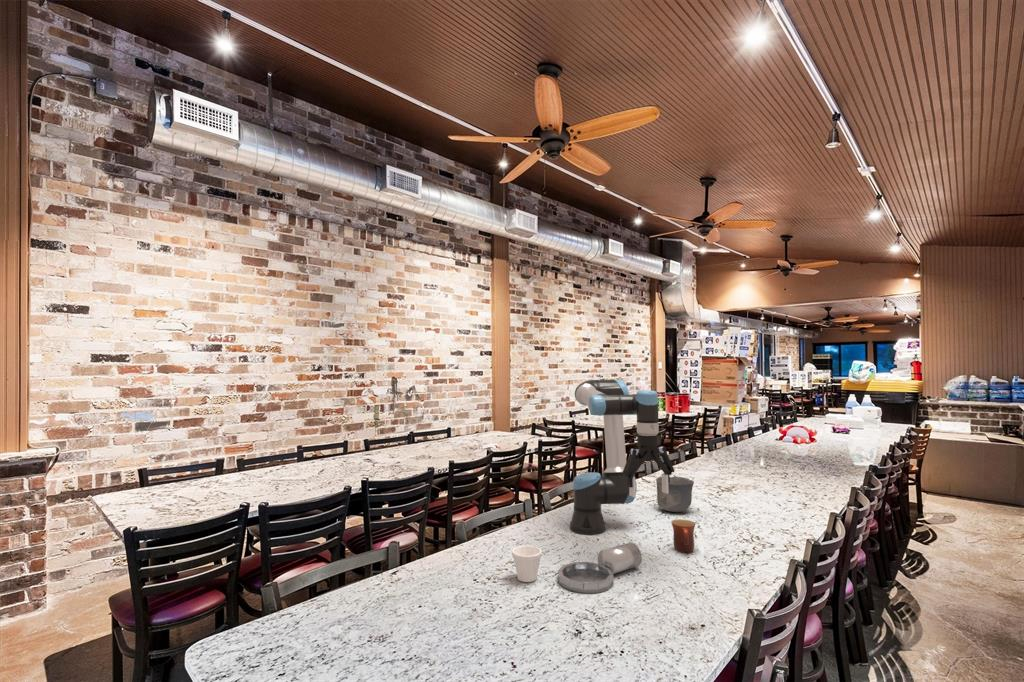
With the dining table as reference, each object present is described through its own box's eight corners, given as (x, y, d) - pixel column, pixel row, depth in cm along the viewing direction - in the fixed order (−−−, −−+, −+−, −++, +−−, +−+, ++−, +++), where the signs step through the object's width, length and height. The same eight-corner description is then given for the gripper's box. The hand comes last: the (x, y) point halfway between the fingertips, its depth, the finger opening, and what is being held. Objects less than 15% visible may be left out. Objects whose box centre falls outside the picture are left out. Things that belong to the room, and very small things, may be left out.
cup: (545, 575, 169) (545, 547, 169) (537, 587, 160) (537, 558, 160) (517, 571, 172) (517, 543, 173) (507, 583, 163) (507, 554, 163)
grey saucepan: (582, 599, 151) (582, 572, 152) (547, 578, 167) (546, 553, 167) (653, 575, 168) (652, 550, 168) (615, 557, 183) (614, 535, 184)
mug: (670, 545, 196) (670, 518, 196) (694, 546, 194) (693, 519, 194) (674, 556, 184) (673, 528, 184) (699, 558, 182) (698, 529, 182)
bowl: (699, 509, 242) (698, 478, 243) (690, 519, 228) (689, 486, 228) (662, 504, 252) (661, 474, 253) (651, 513, 237) (651, 481, 238)
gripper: (623, 437, 171) (624, 500, 170) (683, 433, 179) (685, 493, 178) (611, 434, 178) (612, 495, 177) (670, 431, 186) (671, 488, 185)
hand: (649, 494), depth 177 cm, fingers open, 13 cm apart
